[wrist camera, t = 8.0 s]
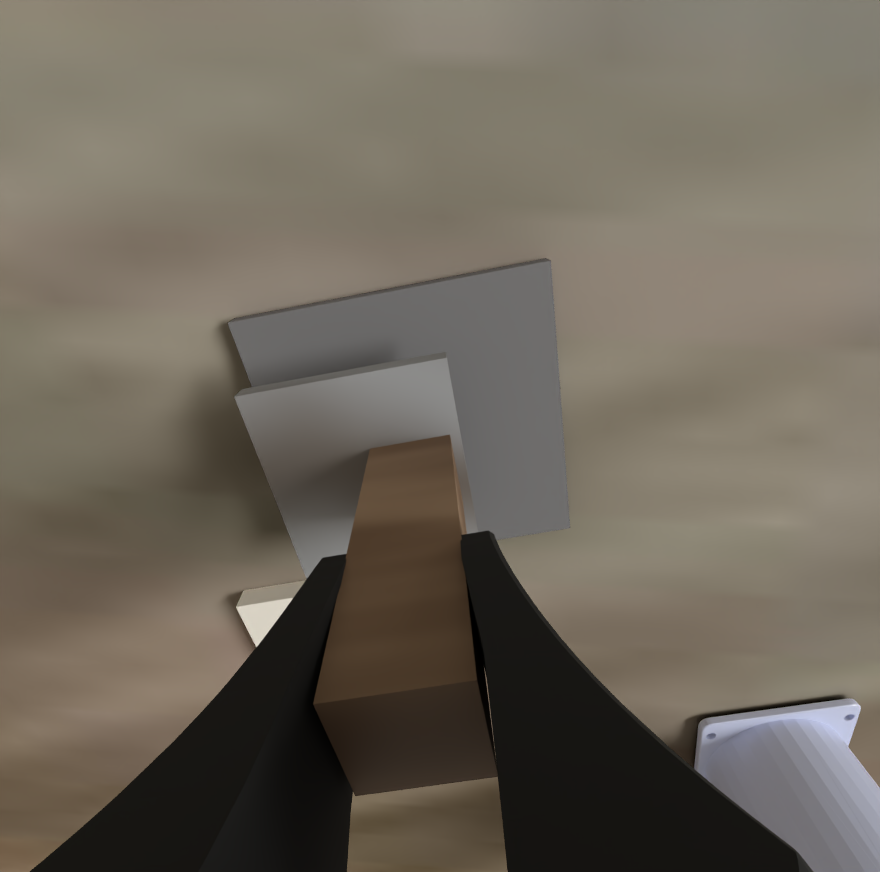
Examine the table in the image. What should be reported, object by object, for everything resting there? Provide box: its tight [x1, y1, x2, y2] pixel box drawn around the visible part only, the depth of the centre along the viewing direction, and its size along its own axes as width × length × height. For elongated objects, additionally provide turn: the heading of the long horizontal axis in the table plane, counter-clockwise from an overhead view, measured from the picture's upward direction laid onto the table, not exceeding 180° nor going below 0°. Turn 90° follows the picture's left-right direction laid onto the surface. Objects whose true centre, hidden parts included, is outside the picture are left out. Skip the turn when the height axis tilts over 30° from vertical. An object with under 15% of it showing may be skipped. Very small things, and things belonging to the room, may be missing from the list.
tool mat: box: [228, 258, 570, 540], centre depth 17 cm, size 10×10×1 cm
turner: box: [234, 352, 498, 796], centre depth 11 cm, size 7×6×9 cm
